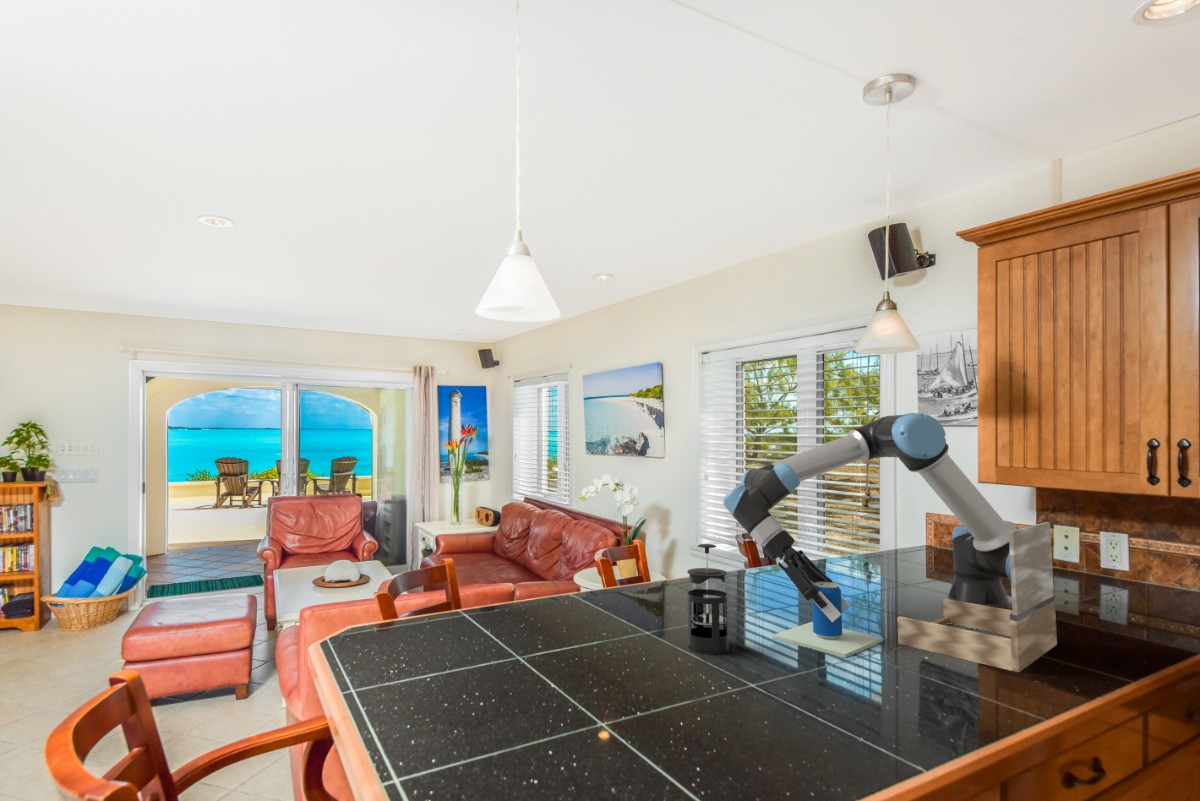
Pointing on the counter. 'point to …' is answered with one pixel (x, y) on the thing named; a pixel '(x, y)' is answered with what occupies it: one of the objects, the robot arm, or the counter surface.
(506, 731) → the counter surface
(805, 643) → the mat
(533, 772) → the counter surface
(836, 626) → the beverage can
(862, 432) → the robot arm
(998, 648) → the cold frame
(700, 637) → the french press
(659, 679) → the counter surface
